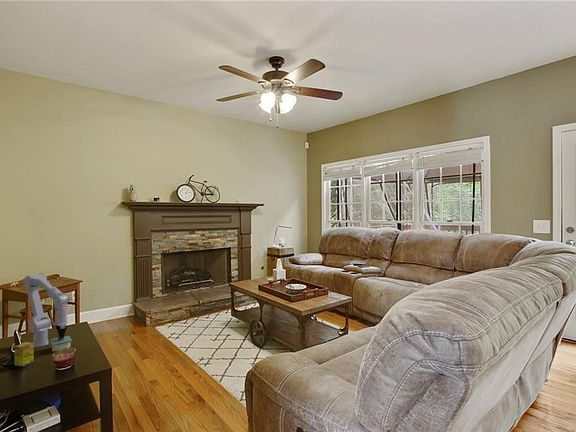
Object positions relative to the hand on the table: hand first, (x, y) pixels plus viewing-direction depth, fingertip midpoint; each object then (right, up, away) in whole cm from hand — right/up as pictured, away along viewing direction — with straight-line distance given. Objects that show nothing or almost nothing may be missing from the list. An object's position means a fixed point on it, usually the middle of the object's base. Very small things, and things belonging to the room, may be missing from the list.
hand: (61, 337), depth 194 cm
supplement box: (-5, -7, -21) cm, 23 cm away
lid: (0, -2, 0) cm, 2 cm away
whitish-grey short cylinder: (0, -7, 0) cm, 7 cm away
